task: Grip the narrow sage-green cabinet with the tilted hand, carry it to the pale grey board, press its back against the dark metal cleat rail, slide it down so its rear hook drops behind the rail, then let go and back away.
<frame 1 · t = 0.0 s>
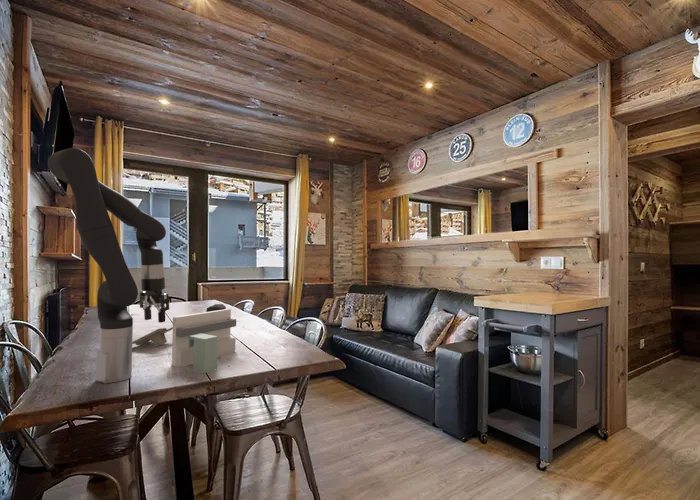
hand: (154, 320, 133), 17 cm above the table, tool pointing down, fingers open, 8 cm apart
sage cabinet: (205, 369, 132), on the table
cleat board: (204, 357, 147), on the table
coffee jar: (215, 345, 169), on the table
olive slanted plate stand: (152, 346, 165), on the table
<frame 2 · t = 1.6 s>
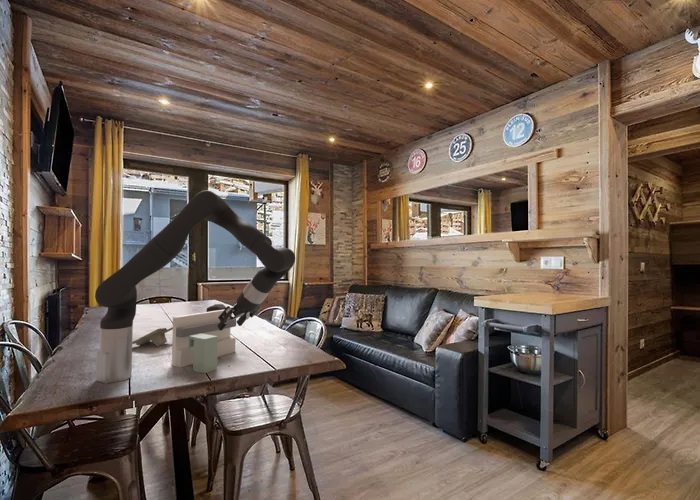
hand: (229, 326, 127), 17 cm above the table, tool tilted 45°, fingers open, 8 cm apart
nothing on the table moved.
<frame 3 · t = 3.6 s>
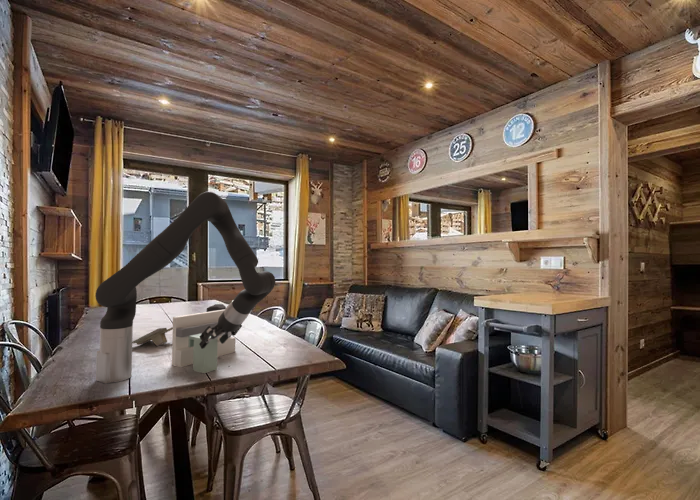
hand: (211, 344, 131), 10 cm above the table, tool tilted 45°, fingers open, 8 cm apart
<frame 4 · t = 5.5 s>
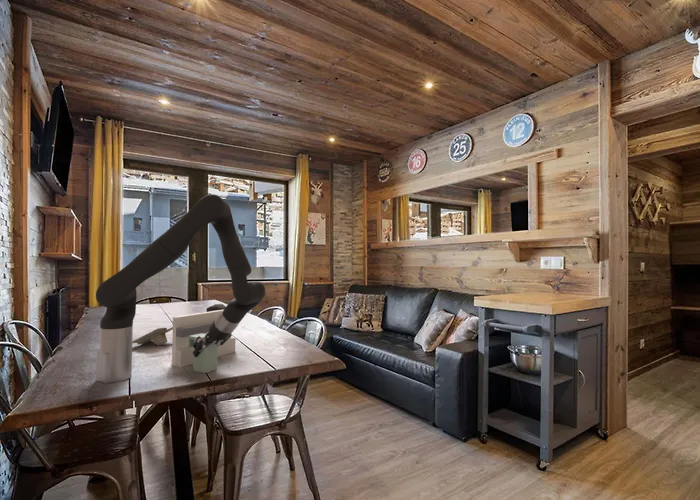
hand: (202, 353, 133), 6 cm above the table, tool tilted 45°, fingers closed on sage cabinet, 5 cm apart
sage cabinet: (204, 369, 132), on the table, touching gripper
everything else where it was.
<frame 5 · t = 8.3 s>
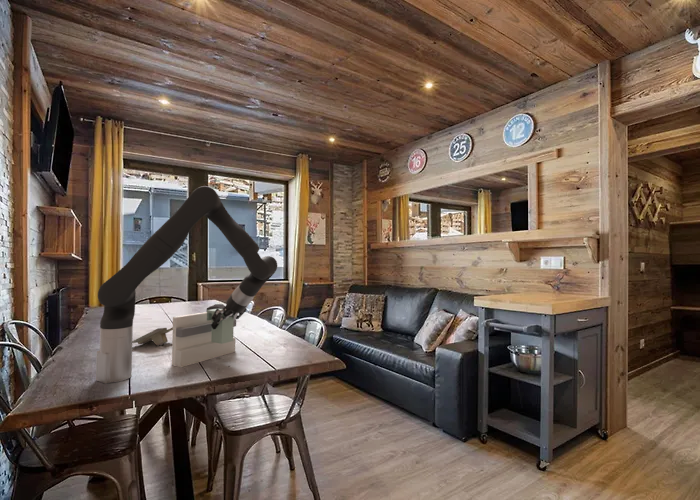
hand: (219, 326, 143), 14 cm above the table, tool tilted 45°, fingers closed on sage cabinet, 5 cm apart
sage cabinet: (222, 341, 142), point 8 cm above the table, touching gripper
when the fingers open (9 cm above the table, at t = 11.2 s): sage cabinet stays where it is, resting on cleat board.
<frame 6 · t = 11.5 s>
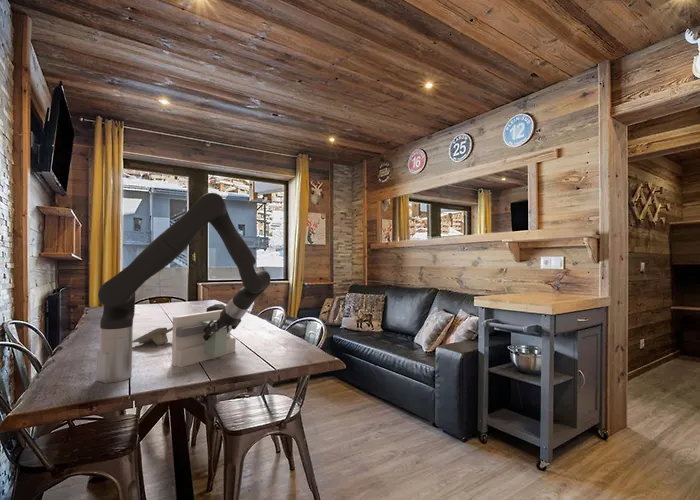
hand: (213, 336, 145), 9 cm above the table, tool tilted 45°, fingers open, 8 cm apart
sage cabinet: (215, 352, 144), point 3 cm above the table, touching cleat board
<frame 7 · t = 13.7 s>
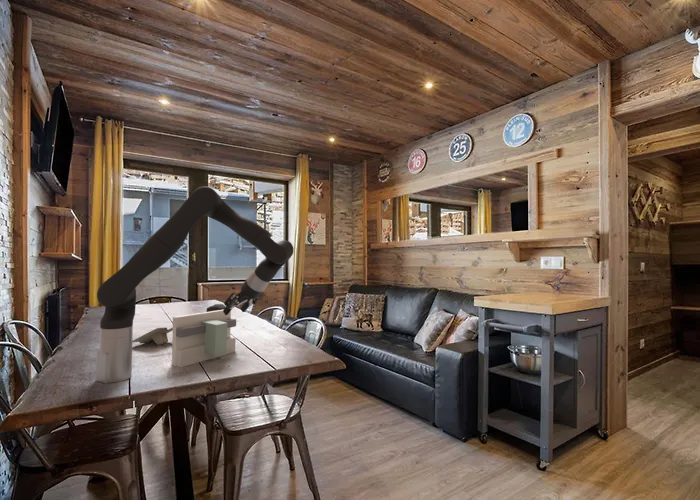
hand: (233, 311, 140), 20 cm above the table, tool tilted 45°, fingers open, 8 cm apart
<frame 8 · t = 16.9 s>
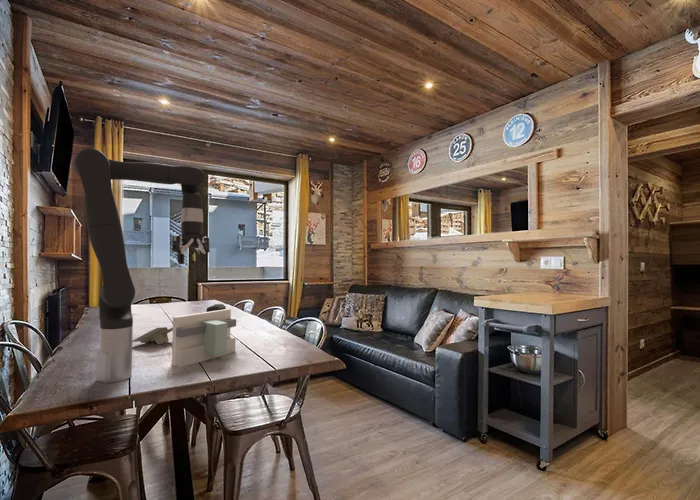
hand: (191, 264, 137), 38 cm above the table, tool pointing down, fingers open, 8 cm apart
at the end: sage cabinet 0.3 cm from the target spot, point 2.9 cm above the table; sage cabinet touching cleat board; sage cabinet tilted 3° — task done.
